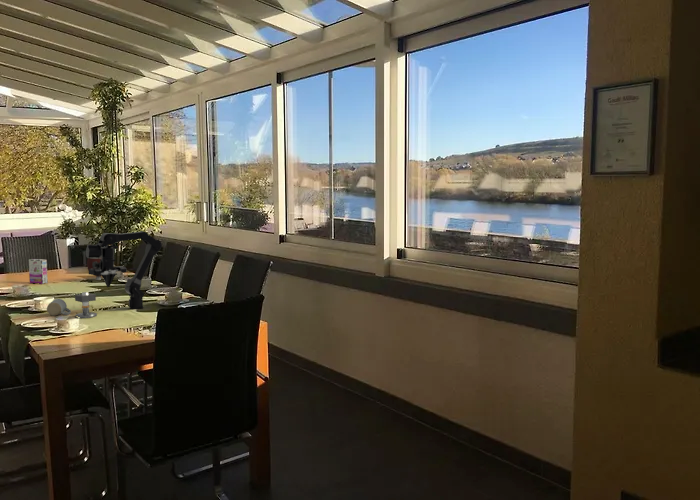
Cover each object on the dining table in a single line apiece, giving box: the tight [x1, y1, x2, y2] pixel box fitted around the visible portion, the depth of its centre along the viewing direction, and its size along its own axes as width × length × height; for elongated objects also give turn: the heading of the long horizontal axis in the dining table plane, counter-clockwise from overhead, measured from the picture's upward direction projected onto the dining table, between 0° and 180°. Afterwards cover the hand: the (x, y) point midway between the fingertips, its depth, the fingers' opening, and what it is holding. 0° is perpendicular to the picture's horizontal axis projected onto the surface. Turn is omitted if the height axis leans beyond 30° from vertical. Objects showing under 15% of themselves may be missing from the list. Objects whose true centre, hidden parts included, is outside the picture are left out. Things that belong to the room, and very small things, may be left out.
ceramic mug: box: [46, 298, 72, 317], centre depth 304 cm, size 11×8×8 cm
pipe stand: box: [74, 291, 98, 319], centre depth 301 cm, size 10×10×12 cm
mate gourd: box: [86, 255, 102, 280], centre depth 415 cm, size 16×14×20 cm
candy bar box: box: [28, 258, 49, 285], centre depth 405 cm, size 11×5×16 cm, turn 73°
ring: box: [74, 292, 97, 303], centre depth 300 cm, size 7×7×3 cm
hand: (108, 286), depth 313 cm, fingers closed
